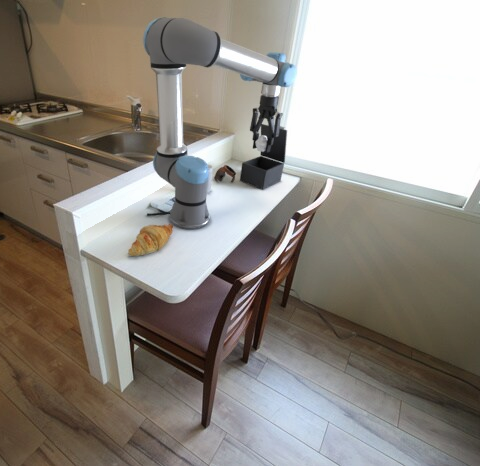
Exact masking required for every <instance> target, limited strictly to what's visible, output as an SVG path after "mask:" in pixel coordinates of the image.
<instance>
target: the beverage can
mask: <svg viewBox="0 0 480 466" xmlns="http://www.w3.org/2000/svg"><path fill="white" fill-rule="evenodd" d="M207 165H208V173H209V177H208V185H207V194H209V193H211V192H212V181H213V173H214V169H213V166H212V165H211V164H208V163H207Z"/></svg>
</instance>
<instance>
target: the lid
mask: <svg viewBox="0 0 480 466" xmlns="http://www.w3.org/2000/svg"><path fill="white" fill-rule="evenodd" d="M274 126H275V124H274ZM261 135H265V136H266V137H267V139H268V137H269V126H268V124H264V123H262V124H261V127H260V136H261ZM287 139H288V130H287V127H286V126H282V125H280V130H279V136H278V137H275V138H274V141H273V145H271V148H270V152H267V153H266V152H265V151H263V152H260V156H262V157H266V158H269V159H272V160H275V161H278V162H281V163H284V164H285V163H286V155H287V154H286V153H287Z"/></svg>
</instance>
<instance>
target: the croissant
mask: <svg viewBox="0 0 480 466" xmlns="http://www.w3.org/2000/svg"><path fill="white" fill-rule="evenodd" d="M173 231H174V224H172V223H168V224H162V225H160V224H148V225H146V226H144V227H142V228H141V229H140V230H139V232H138V234H137V235H136V238H135V241H133V242H132V243H131V247H130V248H129V249H128V252H127V255H128V256H130V257H138V256H144V255H148V254H152V253H155V252H159V251H161V249H162V248H163V247H164V246H166V244H167V242H168V241H169V239H170V238H171V236H172V234H173Z"/></svg>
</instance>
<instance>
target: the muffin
mask: <svg viewBox="0 0 480 466" xmlns="http://www.w3.org/2000/svg"><path fill="white" fill-rule="evenodd" d="M255 144H256V147H257V148H256V150H257V151H258V152H260V153H261V152H263V151H265V150H266V145H267V137H266V136H265V135H261V134H260V135H259V138H258V140H256V142H255Z"/></svg>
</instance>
